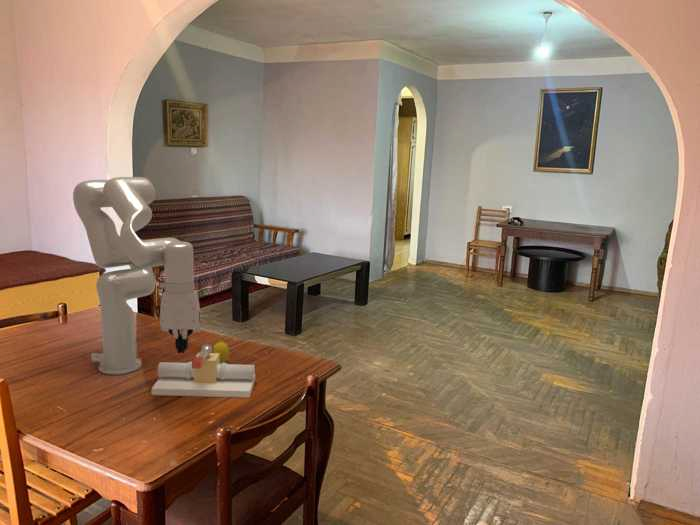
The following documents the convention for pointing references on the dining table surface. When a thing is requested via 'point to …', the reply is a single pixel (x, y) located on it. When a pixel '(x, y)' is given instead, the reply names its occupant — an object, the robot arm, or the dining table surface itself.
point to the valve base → (203, 388)
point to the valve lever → (201, 356)
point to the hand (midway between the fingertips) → (181, 351)
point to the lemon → (221, 351)
